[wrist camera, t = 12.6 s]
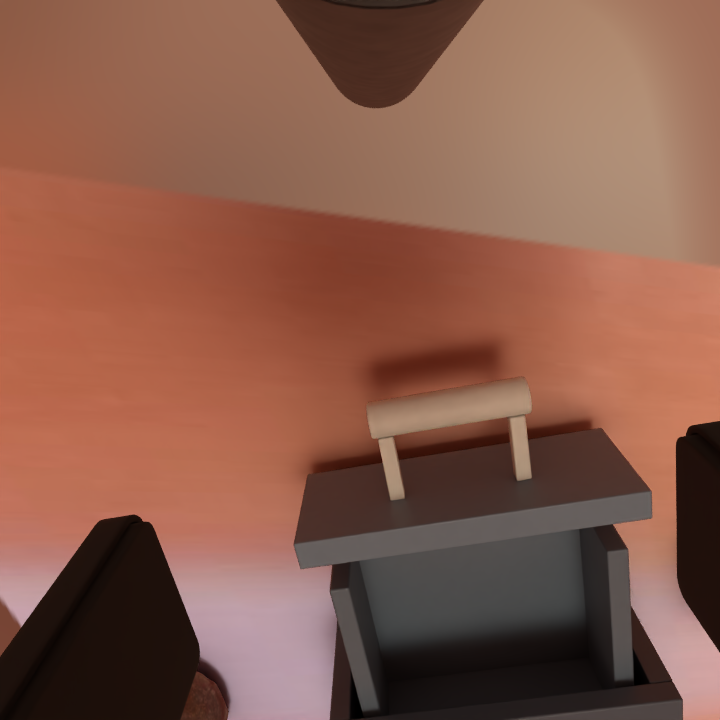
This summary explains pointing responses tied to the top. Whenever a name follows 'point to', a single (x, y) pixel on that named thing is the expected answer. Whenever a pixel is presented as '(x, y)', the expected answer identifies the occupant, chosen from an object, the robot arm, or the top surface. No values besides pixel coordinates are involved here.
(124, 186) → the top surface
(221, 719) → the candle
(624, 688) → the cabinet
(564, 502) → the drawer
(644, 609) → the top surface
